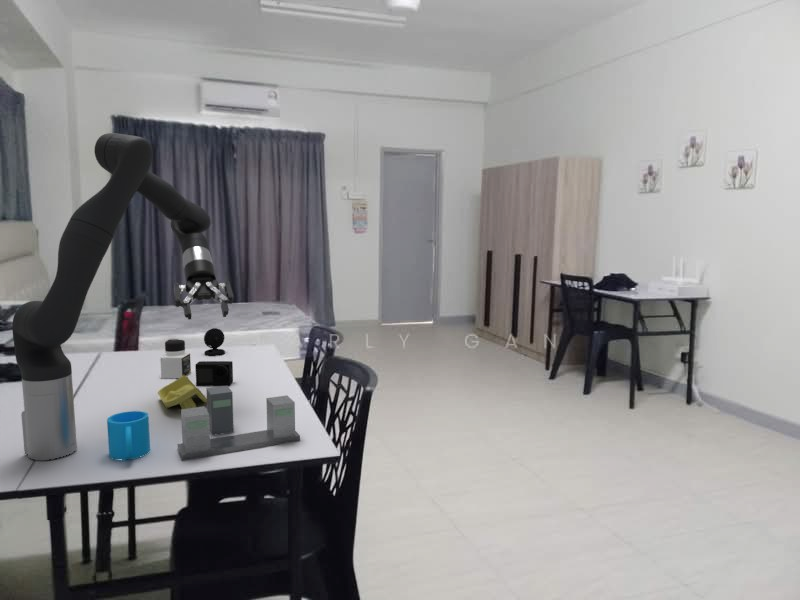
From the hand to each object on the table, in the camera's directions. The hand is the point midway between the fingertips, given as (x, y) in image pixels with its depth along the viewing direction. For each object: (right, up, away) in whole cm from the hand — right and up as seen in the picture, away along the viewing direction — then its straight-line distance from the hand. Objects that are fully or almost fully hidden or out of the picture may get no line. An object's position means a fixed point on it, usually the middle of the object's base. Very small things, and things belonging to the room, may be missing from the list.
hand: (207, 316), depth 147 cm
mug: (-10, -30, -21) cm, 38 cm away
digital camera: (-9, -22, +34) cm, 42 cm away
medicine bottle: (-25, -21, +44) cm, 55 cm away
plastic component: (-11, -25, +14) cm, 31 cm away
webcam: (-22, -17, +76) cm, 81 cm away
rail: (+12, -29, -14) cm, 34 cm away
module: (+5, -27, -5) cm, 28 cm away
